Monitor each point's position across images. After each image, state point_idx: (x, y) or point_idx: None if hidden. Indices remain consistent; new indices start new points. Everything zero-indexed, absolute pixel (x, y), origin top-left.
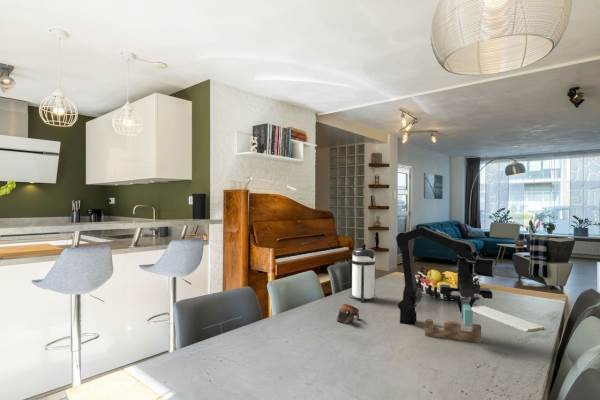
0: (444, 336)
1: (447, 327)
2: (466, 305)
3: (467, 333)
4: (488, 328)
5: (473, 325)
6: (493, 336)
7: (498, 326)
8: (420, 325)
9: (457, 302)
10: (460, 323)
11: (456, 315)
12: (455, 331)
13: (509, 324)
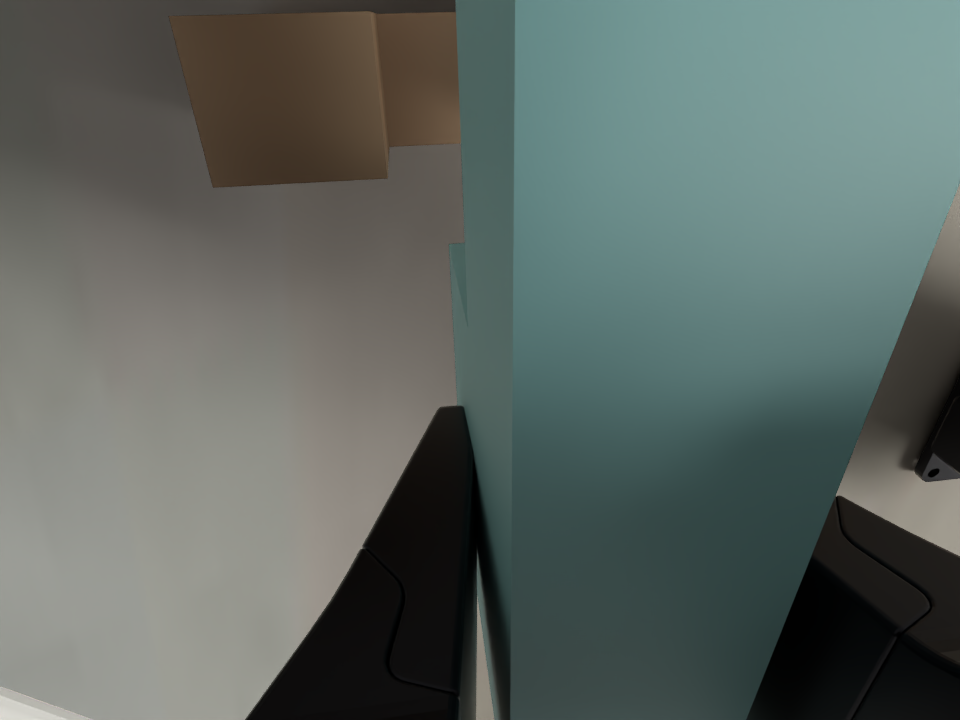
0: None
1: None
2: (790, 31)
3: None
4: (210, 561)
5: (351, 56)
6: (125, 359)
7: (124, 643)
8: (910, 359)
9: (930, 545)
10: None
11: (493, 711)
12: None
13: (30, 712)
